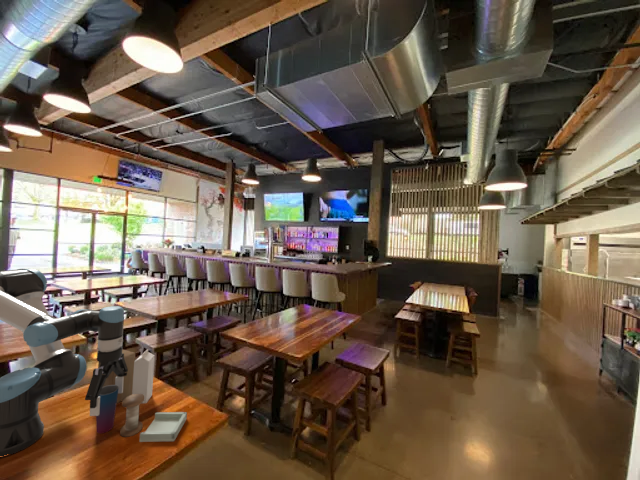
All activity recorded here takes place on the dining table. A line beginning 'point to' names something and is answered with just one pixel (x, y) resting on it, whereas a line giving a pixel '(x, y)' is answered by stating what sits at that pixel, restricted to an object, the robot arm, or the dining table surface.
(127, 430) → the doorknob
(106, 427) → the cup
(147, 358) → the milk
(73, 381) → the robot arm
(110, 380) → the wooden block
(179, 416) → the square tray
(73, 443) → the dining table surface
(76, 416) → the dining table surface
